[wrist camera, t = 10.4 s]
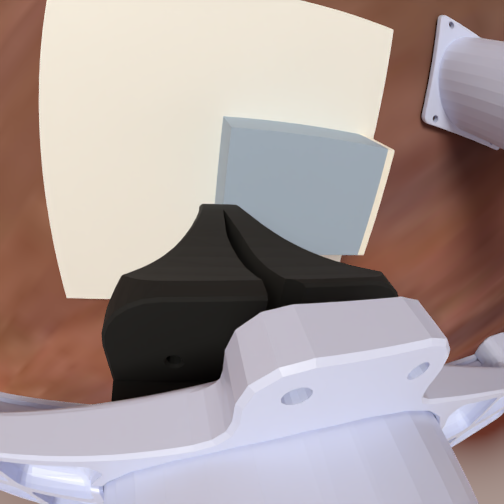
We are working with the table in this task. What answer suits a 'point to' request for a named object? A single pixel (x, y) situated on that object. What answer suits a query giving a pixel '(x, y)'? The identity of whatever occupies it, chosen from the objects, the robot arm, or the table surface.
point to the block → (304, 181)
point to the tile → (179, 111)
